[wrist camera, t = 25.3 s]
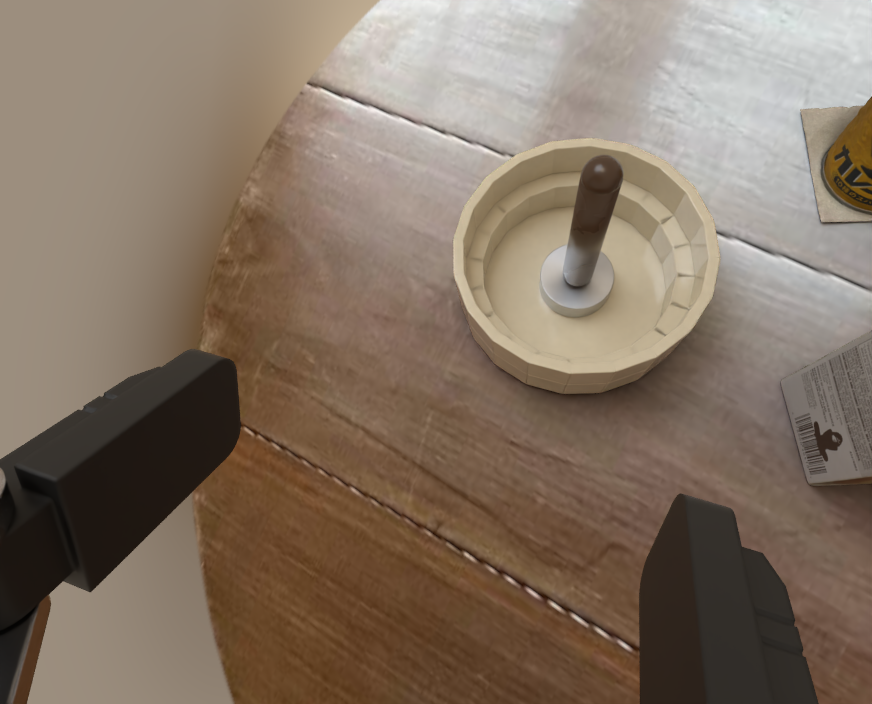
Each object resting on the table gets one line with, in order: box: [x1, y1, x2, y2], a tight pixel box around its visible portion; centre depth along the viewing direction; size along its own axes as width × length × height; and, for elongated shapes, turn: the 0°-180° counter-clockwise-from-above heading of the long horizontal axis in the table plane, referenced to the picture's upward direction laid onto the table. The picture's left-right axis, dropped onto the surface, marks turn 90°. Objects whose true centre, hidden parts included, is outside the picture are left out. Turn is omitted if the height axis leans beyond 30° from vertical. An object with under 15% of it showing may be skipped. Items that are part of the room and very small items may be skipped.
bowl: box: [453, 138, 720, 394], centre depth 33 cm, size 14×14×6 cm
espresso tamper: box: [539, 155, 624, 317], centre depth 29 cm, size 4×4×13 cm
